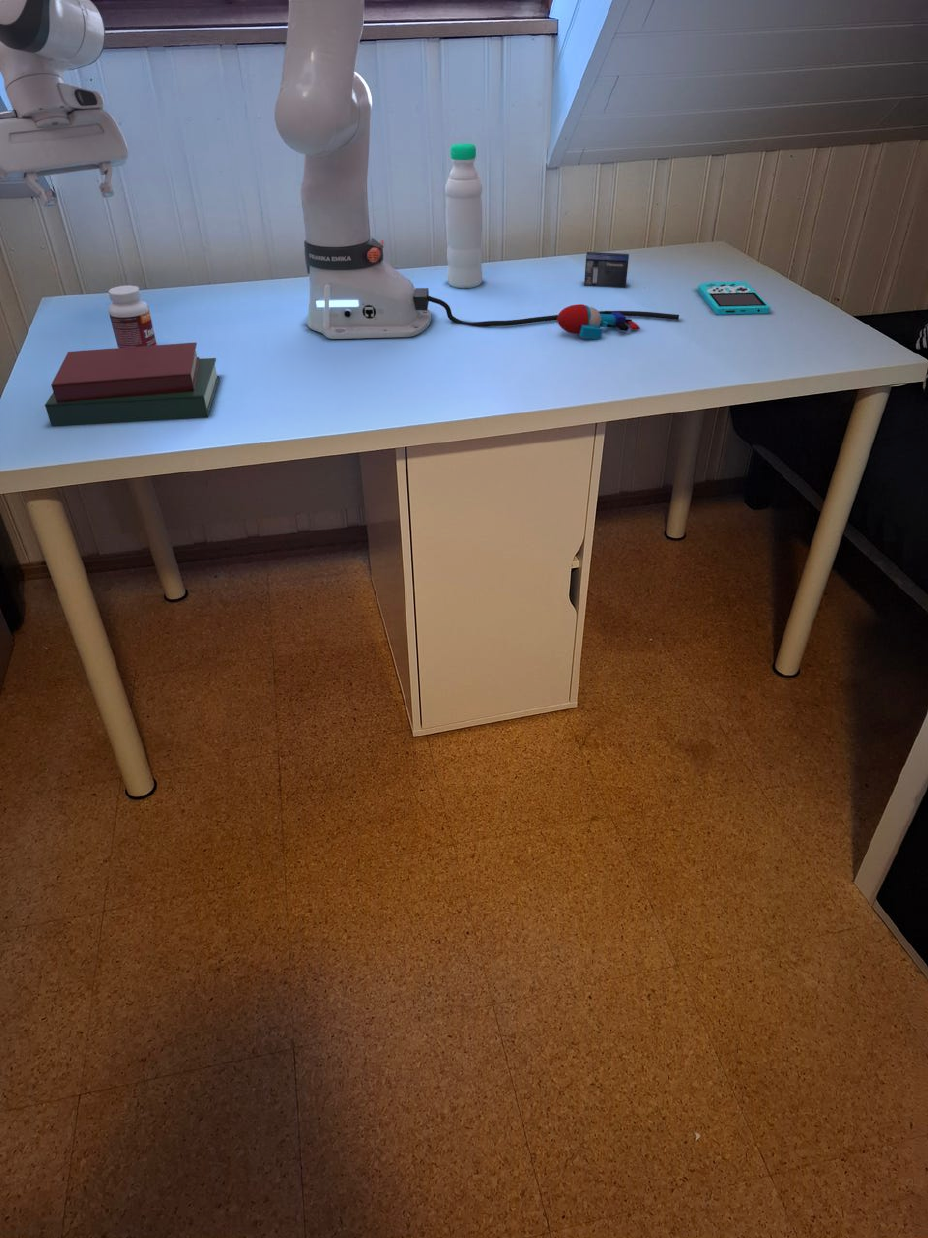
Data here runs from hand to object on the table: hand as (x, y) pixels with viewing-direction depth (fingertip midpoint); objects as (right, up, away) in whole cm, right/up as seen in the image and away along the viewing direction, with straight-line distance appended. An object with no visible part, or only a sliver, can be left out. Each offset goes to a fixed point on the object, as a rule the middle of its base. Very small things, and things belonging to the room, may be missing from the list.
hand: (79, 200), depth 138 cm
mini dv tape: (+90, 0, +35) cm, 96 cm away
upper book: (+12, -31, -9) cm, 35 cm away
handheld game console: (+112, -7, +26) cm, 115 cm away
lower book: (+12, -34, -7) cm, 37 cm away
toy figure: (+84, -17, +14) cm, 87 cm away
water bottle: (+62, +1, +37) cm, 72 cm away
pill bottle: (+7, -23, +7) cm, 25 cm away
